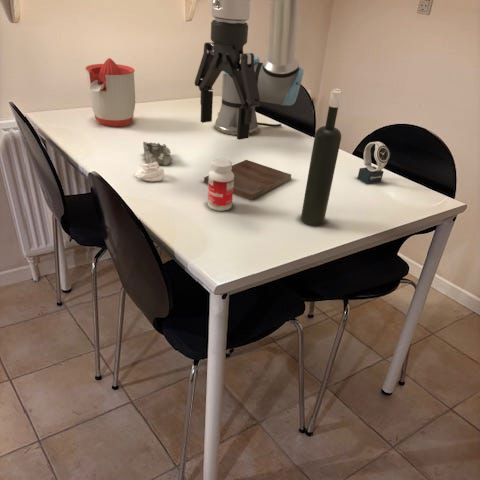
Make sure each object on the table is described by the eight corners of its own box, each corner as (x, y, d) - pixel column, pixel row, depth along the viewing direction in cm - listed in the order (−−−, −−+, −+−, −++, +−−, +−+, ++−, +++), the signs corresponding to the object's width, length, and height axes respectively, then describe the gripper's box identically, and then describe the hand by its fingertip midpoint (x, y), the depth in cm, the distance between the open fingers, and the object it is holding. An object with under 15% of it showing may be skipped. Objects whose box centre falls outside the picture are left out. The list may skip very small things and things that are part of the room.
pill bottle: (202, 205, 120) (203, 161, 113) (218, 198, 123) (221, 156, 117) (220, 213, 117) (223, 169, 110) (237, 206, 120) (240, 163, 114)
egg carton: (171, 166, 139) (171, 152, 136) (145, 166, 137) (144, 152, 135) (167, 153, 147) (167, 139, 144) (143, 153, 145) (142, 139, 143)
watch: (371, 186, 138) (380, 148, 131) (353, 176, 144) (362, 139, 137) (385, 184, 141) (396, 146, 134) (367, 174, 146) (376, 137, 139)
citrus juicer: (78, 124, 162) (70, 58, 149) (108, 113, 175) (103, 51, 162) (118, 133, 158) (112, 66, 145) (145, 121, 170) (143, 58, 158)
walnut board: (245, 164, 144) (246, 159, 143) (290, 179, 138) (291, 174, 137) (203, 182, 131) (204, 177, 130) (251, 200, 124) (252, 194, 123)
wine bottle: (311, 213, 121) (335, 84, 102) (328, 222, 118) (356, 90, 99) (295, 218, 118) (317, 86, 99) (313, 228, 114) (338, 93, 96)
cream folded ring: (138, 186, 128) (136, 169, 124) (132, 174, 132) (130, 158, 129) (167, 182, 130) (166, 165, 127) (160, 170, 134) (159, 154, 131)
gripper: (179, 11, 101) (179, 117, 114) (256, 30, 86) (246, 148, 99) (208, 12, 105) (205, 113, 118) (286, 30, 90) (272, 143, 103)
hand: (223, 130), depth 108 cm, fingers open, 13 cm apart
